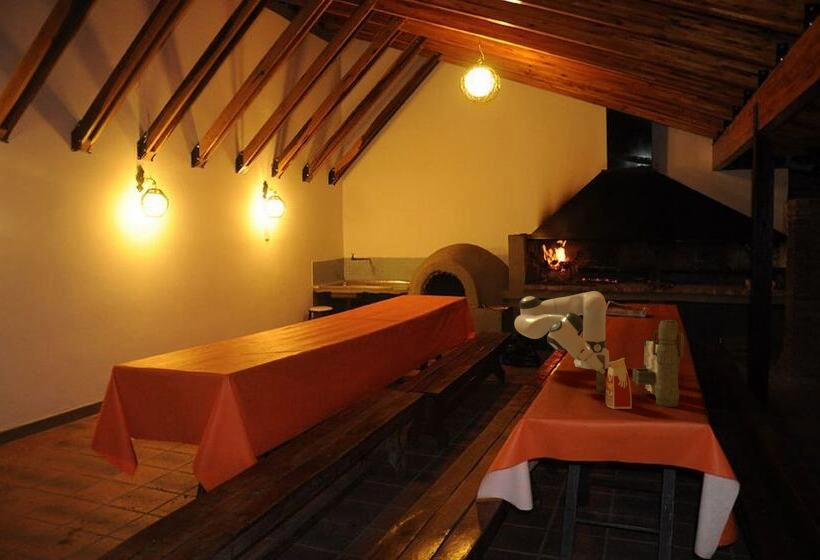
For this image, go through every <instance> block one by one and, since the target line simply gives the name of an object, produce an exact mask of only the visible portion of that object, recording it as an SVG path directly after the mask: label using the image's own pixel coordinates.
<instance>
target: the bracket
mask: <svg viewBox="0 0 820 560" xmlns="http://www.w3.org/2000/svg"><path fill="white" fill-rule="evenodd" d="M657 347H658V345H657V344H656V352H657ZM656 359H657V357H656V355H653V342H651V341H646V368H644V367H643V368H641V367H640V368H632V382H634V383H635V384H637V385H638V386H645V390H646V389H647V390H646V391H647V392H649V391H650V393H651V394H652V395H653V396H655V397H656V388H657V372H658V363H657V361H656Z"/></svg>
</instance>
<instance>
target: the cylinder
mask: <svg viewBox="0 0 820 560" xmlns="http://www.w3.org/2000/svg"><path fill="white" fill-rule="evenodd" d="M597 358H598V359H599V360H600V362H601V363H602V364H603V369H604V370H605V371H606V369H605V356H604V355H597ZM595 371H596V370H595ZM595 375H596V376H595V377H596V379H595V380H596V381H595V382H596V384H595V385H596V387H595V391H596V392H598V393H604V392H606V383H605V382H606V380H605V379H606V377H605V376H606V372H605V373H604V374H602V373H601V372H600V371H596V373H595Z"/></svg>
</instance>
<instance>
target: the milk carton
mask: <svg viewBox="0 0 820 560" xmlns="http://www.w3.org/2000/svg"><path fill="white" fill-rule="evenodd" d="M625 359H626V358H625V357H622V358H619V359H617V360H615V361H614V360H612V361H609V362H608V364H609V367H608V368H607V375H606V381H605V382H606V383H605V404H606V406H607V407H608V408H611V409H614V410H620V409H623V410H625V409H627V410H629V409H631V410H632V406H633V405H632V401H633V399H632V387H631V381H630V376H629V374H628V370H627V366H626V363H625Z"/></svg>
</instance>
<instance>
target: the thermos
mask: <svg viewBox="0 0 820 560" xmlns="http://www.w3.org/2000/svg"><path fill="white" fill-rule="evenodd" d="M679 329H680V328H679V324H678V321H677V320H675V319H669V318H668V319H666V318H665V319H662V320H660V323H659V324H658V330H655V331H654V332H653V333H652V337H653V355H656V357H657V359H656V361H657V363H658V372H657V388H656V396H655V399H656V400H655V404H656V405H657V406H660V407H667V408H675V407H679V400H680V390H679V364H680V362H681V361H680V360H681V359H682V358H683V357H684V350H685V349H684V346H685V335H684V334H683V332H680V331H679ZM657 334H658V340H659V342H658V347H657V352H656V340H657ZM679 338H680V346H679Z"/></svg>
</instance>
